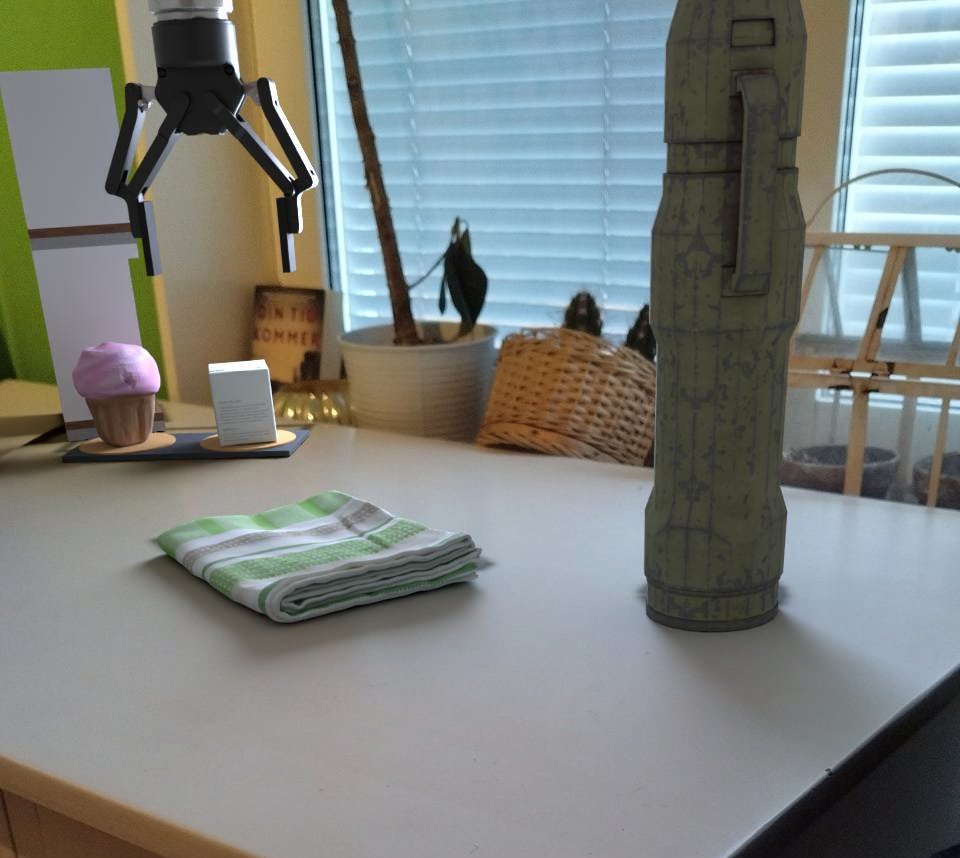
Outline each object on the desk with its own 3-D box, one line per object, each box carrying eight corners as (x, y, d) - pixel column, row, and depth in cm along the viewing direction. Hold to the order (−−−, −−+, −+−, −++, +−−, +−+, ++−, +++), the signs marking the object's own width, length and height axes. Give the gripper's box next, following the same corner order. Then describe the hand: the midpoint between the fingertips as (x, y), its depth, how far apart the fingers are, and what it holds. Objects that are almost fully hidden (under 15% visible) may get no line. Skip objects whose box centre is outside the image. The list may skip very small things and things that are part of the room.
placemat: (61, 462, 135) (59, 454, 135) (94, 441, 144) (93, 433, 144) (289, 456, 133) (289, 448, 133) (309, 435, 142) (308, 427, 141)
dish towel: (271, 632, 87) (265, 579, 85) (151, 554, 104) (144, 510, 102) (491, 580, 94) (489, 531, 93) (345, 516, 112) (341, 474, 110)
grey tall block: (166, 431, 147) (109, 67, 130) (68, 441, 145) (-3, 71, 127) (156, 413, 157) (102, 72, 140) (64, 422, 154) (-2, 76, 137)
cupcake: (73, 442, 140) (54, 342, 135) (150, 429, 144) (134, 332, 139) (104, 455, 133) (85, 351, 129) (183, 441, 138) (168, 340, 133)
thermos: (681, 647, 81) (703, -37, 64) (618, 591, 91) (622, -13, 74) (814, 629, 82) (870, -42, 65) (737, 576, 93) (768, -17, 76)
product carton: (274, 431, 141) (265, 358, 137) (278, 442, 135) (269, 367, 132) (217, 436, 140) (206, 362, 136) (218, 447, 134) (208, 372, 131)
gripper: (44, 21, 117) (86, 280, 127) (319, 9, 115) (339, 273, 125) (73, 27, 124) (111, 272, 134) (335, 15, 121) (353, 266, 132)
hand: (222, 273), depth 130 cm, fingers open, 13 cm apart
